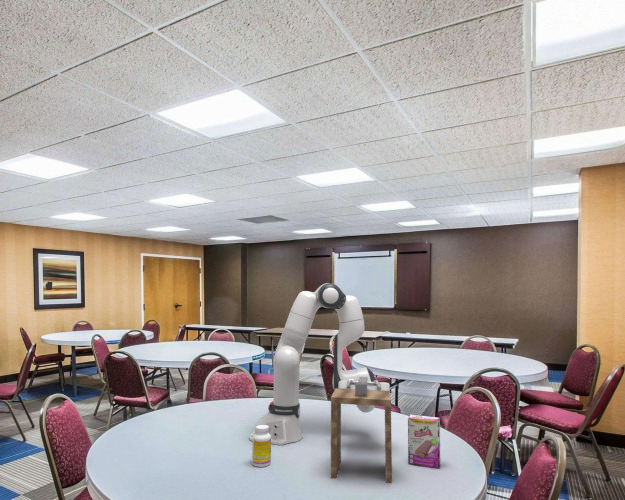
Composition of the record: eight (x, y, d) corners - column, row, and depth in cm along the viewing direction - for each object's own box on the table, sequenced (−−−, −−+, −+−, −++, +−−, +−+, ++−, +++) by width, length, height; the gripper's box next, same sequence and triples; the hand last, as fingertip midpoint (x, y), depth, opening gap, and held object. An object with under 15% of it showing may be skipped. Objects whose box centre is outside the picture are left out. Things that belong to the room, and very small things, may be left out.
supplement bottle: (272, 466, 144) (272, 428, 146) (253, 468, 143) (254, 430, 144) (268, 459, 151) (269, 423, 152) (250, 461, 149) (251, 424, 150)
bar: (355, 396, 140) (355, 384, 141) (358, 384, 160) (358, 374, 160) (366, 396, 139) (366, 384, 140) (368, 384, 159) (368, 374, 160)
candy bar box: (408, 464, 147) (407, 417, 149) (409, 459, 152) (408, 413, 154) (440, 469, 144) (439, 420, 145) (441, 464, 148) (439, 417, 150)
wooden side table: (330, 478, 135) (331, 397, 139) (335, 461, 149) (335, 388, 152) (392, 483, 132) (390, 400, 135) (391, 466, 146) (390, 390, 149)
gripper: (339, 384, 171) (336, 372, 160) (389, 386, 168) (389, 374, 157) (338, 399, 167) (335, 388, 157) (389, 402, 164) (390, 391, 153)
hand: (363, 381), depth 157 cm, fingers open, 8 cm apart
